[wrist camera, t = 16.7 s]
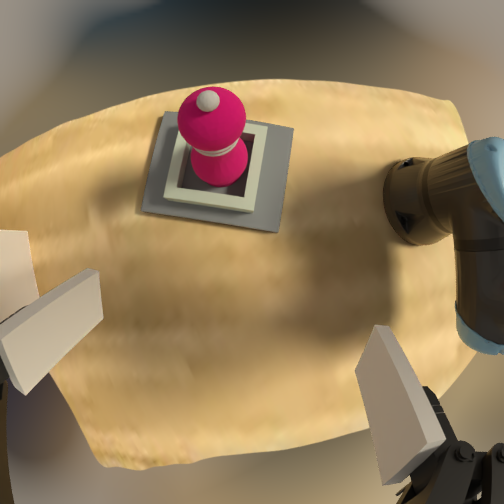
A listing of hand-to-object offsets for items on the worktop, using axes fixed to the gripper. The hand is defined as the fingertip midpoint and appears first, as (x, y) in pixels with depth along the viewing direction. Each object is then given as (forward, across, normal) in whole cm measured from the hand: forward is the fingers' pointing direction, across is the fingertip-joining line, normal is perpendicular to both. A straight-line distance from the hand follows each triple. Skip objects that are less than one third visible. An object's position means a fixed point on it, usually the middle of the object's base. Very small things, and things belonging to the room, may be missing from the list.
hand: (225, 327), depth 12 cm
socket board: (+30, -8, +6) cm, 32 cm away
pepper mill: (+29, -7, +6) cm, 30 cm away
